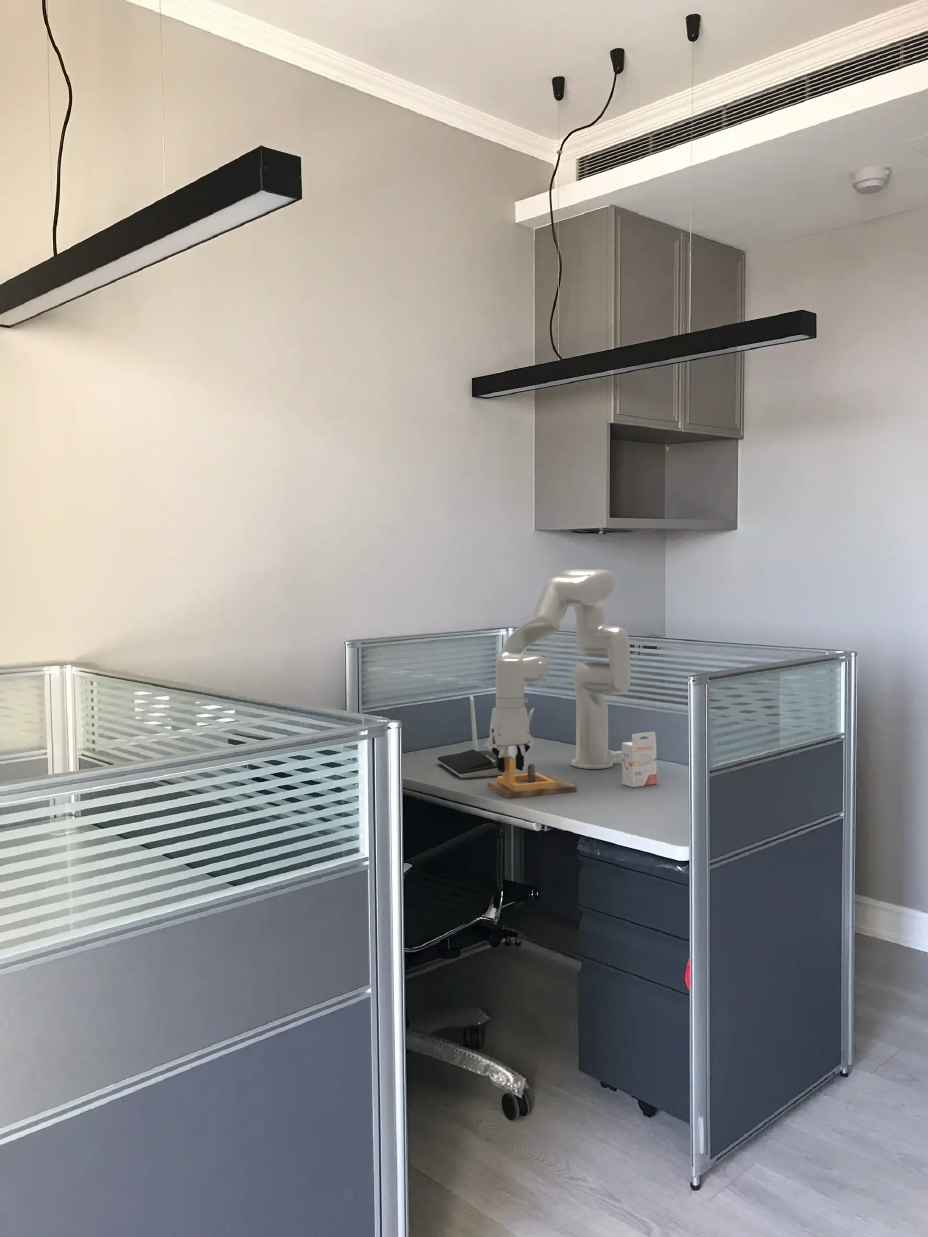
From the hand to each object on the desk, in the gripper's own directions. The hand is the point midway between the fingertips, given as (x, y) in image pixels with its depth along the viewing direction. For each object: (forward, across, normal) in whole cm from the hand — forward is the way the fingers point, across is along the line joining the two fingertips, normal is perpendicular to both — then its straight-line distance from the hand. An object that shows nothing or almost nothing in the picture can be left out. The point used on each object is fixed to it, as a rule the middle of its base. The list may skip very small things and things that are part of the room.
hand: (510, 769), depth 265 cm
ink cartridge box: (+6, -36, +6) cm, 37 cm away
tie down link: (+4, -5, 0) cm, 6 cm away
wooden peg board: (+6, -6, 0) cm, 9 cm away
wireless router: (+6, -4, -29) cm, 30 cm away
